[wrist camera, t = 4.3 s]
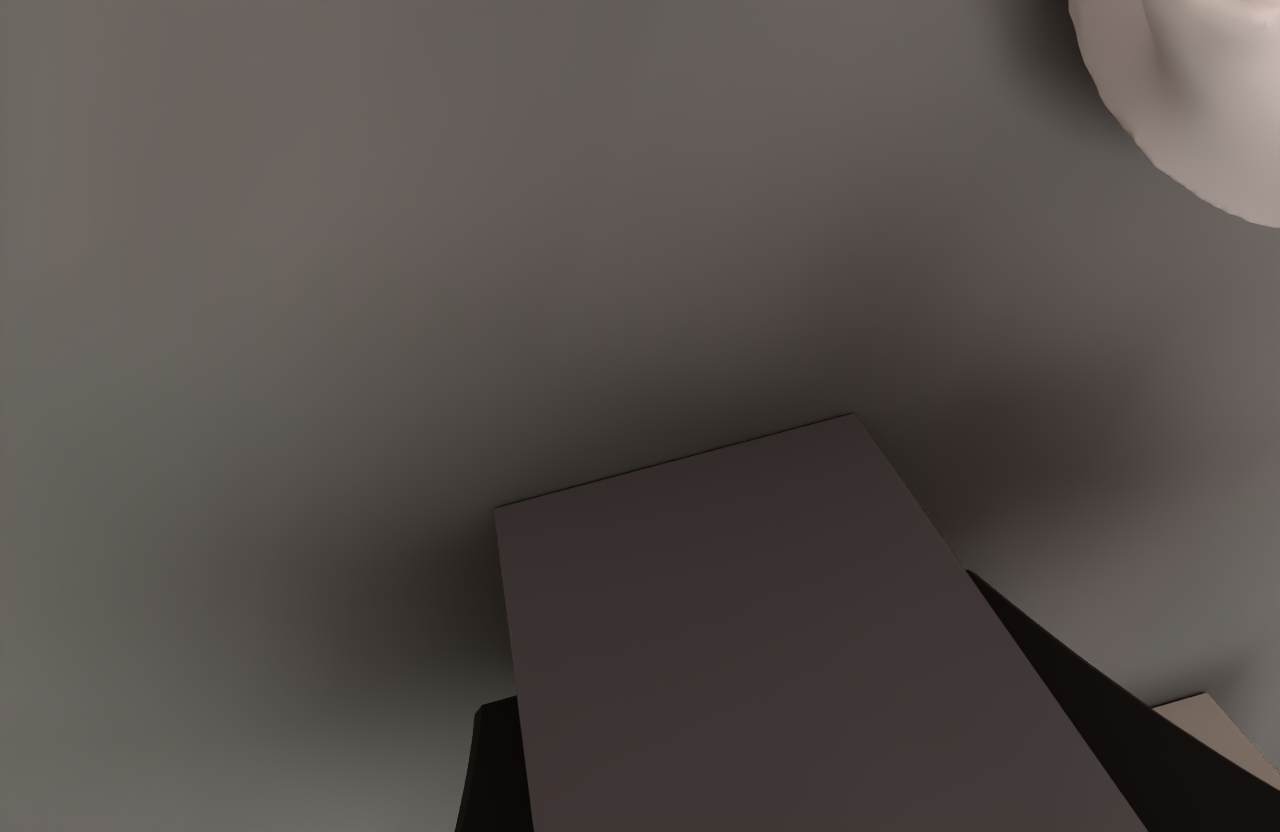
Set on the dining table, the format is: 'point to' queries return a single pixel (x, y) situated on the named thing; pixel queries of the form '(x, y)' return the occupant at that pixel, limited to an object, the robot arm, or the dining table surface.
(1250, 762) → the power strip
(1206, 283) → the dining table surface
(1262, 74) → the salt and pepper shakers
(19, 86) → the dining table surface
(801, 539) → the block
